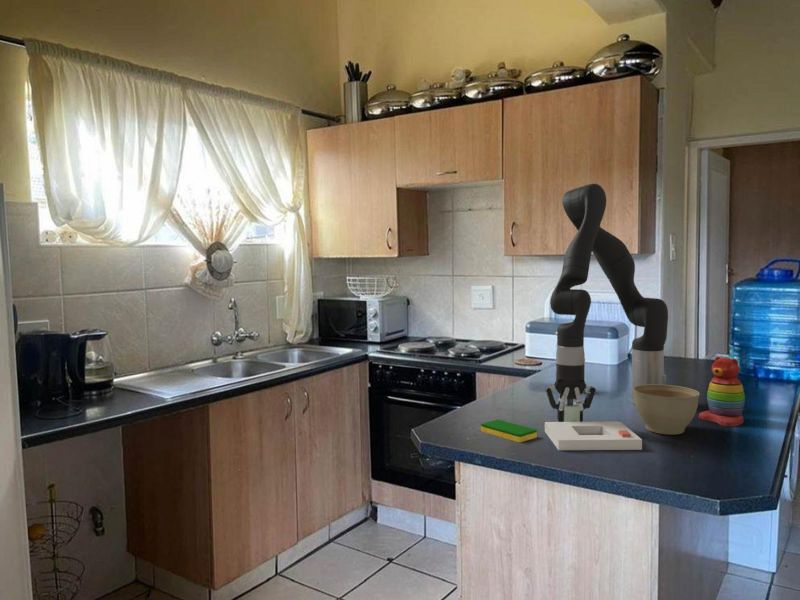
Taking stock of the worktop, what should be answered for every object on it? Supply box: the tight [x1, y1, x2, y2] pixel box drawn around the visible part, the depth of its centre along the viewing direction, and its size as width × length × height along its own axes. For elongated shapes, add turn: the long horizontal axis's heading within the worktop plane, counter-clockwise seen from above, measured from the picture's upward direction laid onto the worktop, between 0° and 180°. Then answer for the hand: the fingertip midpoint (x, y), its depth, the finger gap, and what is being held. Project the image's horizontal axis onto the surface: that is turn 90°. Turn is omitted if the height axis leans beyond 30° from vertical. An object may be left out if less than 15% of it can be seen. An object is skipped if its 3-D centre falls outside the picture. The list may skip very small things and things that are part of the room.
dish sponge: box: [480, 419, 538, 443], centre depth 163 cm, size 7×14×2 cm, turn 39°
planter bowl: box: [633, 384, 700, 436], centre depth 163 cm, size 16×16×11 cm
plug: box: [563, 398, 580, 422], centre depth 169 cm, size 4×5×8 cm
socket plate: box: [544, 420, 643, 451], centre depth 156 cm, size 20×16×3 cm
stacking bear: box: [698, 356, 746, 428], centre depth 171 cm, size 11×10×18 cm
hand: (569, 422), depth 169 cm, fingers closed on plug, 4 cm apart
